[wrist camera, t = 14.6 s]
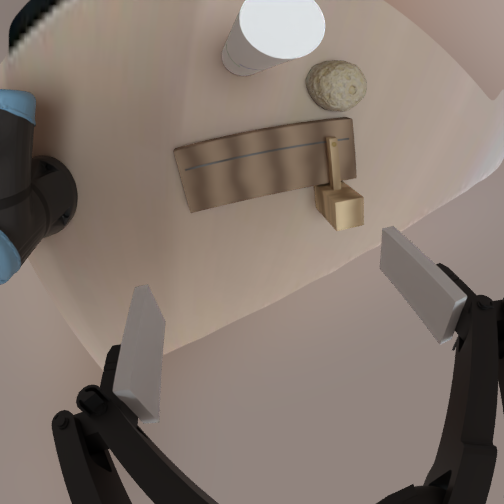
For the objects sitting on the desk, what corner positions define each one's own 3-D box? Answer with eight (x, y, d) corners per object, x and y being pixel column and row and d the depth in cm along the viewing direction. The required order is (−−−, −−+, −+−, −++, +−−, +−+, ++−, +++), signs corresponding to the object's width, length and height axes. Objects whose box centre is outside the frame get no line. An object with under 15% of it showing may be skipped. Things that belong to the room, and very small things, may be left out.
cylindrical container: (255, 82, 42) (305, 73, 21) (214, 66, 40) (224, 38, 18) (273, 46, 39) (337, 10, 18) (232, 30, 37) (260, -27, 15)
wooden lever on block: (316, 207, 55) (336, 231, 47) (308, 135, 48) (330, 146, 39) (339, 202, 55) (363, 224, 47) (334, 131, 48) (361, 142, 39)
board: (191, 207, 51) (190, 213, 49) (175, 148, 46) (173, 151, 43) (350, 174, 52) (356, 178, 50) (345, 117, 47) (352, 118, 44)
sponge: (345, 92, 48) (381, 70, 39) (338, 129, 46) (378, 108, 37) (305, 66, 45) (339, 37, 36) (294, 101, 43) (330, 72, 34)
